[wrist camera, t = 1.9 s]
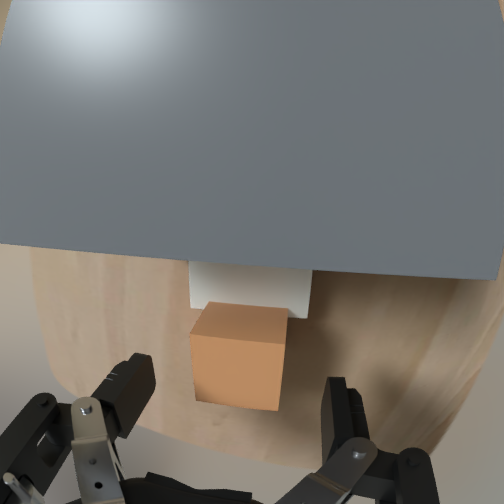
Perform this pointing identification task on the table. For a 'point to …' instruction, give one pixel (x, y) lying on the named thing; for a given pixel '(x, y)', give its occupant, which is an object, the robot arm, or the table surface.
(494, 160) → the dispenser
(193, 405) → the table surface
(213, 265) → the white and orange bar
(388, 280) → the table surface
